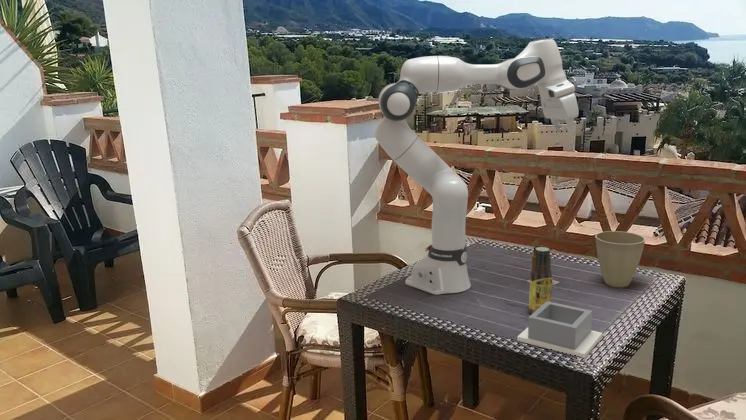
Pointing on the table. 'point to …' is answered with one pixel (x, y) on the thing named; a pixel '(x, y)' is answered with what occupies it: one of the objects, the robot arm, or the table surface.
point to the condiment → (535, 259)
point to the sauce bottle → (540, 280)
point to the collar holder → (561, 329)
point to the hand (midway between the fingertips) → (564, 131)
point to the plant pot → (619, 256)
